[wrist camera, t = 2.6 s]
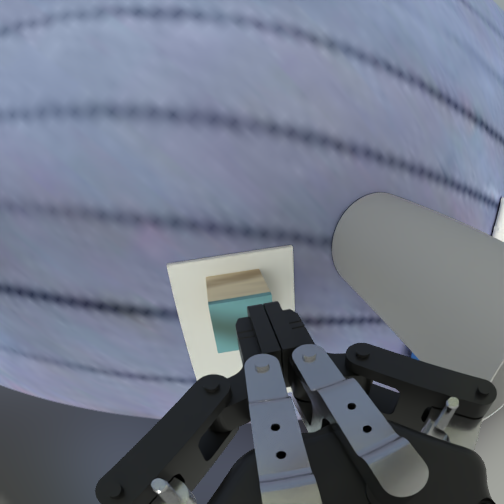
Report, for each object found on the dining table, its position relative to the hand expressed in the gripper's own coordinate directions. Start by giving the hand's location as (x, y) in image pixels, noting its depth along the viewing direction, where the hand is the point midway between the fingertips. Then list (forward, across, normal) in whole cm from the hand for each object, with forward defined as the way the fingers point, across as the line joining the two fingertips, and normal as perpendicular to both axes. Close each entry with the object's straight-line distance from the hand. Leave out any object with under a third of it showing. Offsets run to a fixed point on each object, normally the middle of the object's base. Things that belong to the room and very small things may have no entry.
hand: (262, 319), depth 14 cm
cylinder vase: (+19, -18, +5) cm, 27 cm away
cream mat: (+19, 0, +16) cm, 25 cm away
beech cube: (+18, 0, +9) cm, 20 cm away
